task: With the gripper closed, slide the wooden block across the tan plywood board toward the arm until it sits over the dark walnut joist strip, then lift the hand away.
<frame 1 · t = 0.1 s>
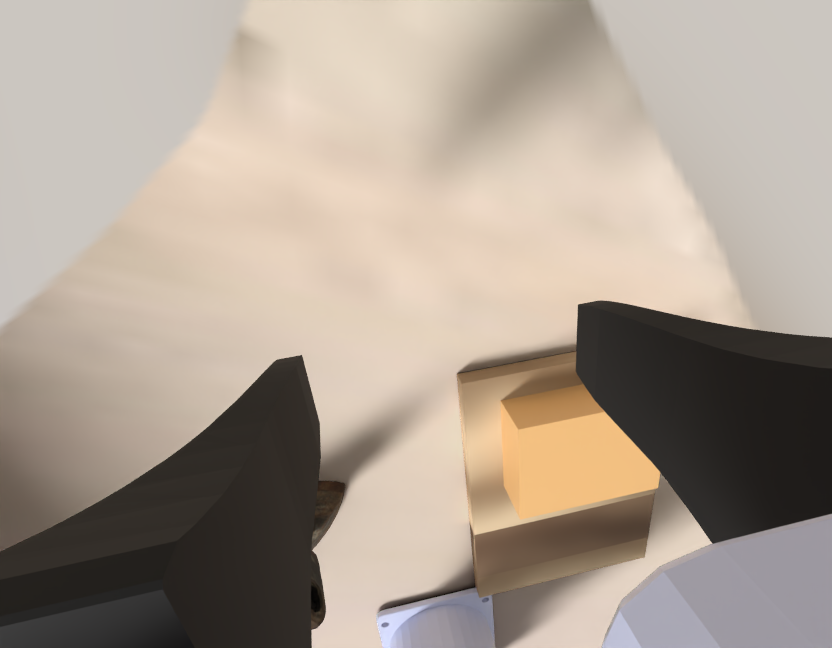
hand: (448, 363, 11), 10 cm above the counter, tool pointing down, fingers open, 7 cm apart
wooden block: (569, 431, 25), point 1 cm above the counter, touching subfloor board
clothes iron: (265, 525, 26), on the counter
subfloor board: (560, 472, 28), on the counter
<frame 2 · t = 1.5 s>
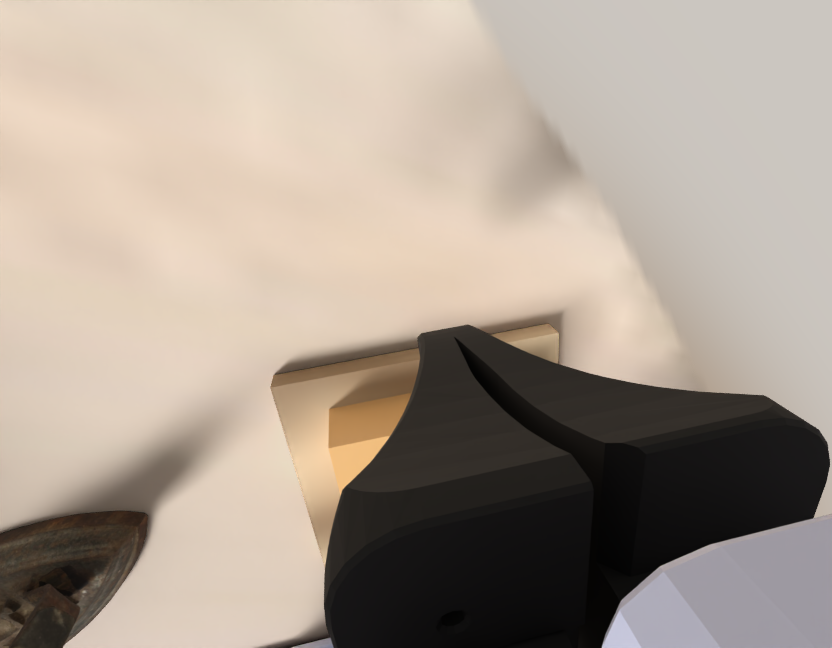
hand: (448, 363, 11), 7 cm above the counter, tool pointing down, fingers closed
wooden block: (431, 446, 20), point 1 cm above the counter, touching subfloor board
clothes iron: (54, 566, 21), on the counter
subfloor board: (435, 495, 22), on the counter
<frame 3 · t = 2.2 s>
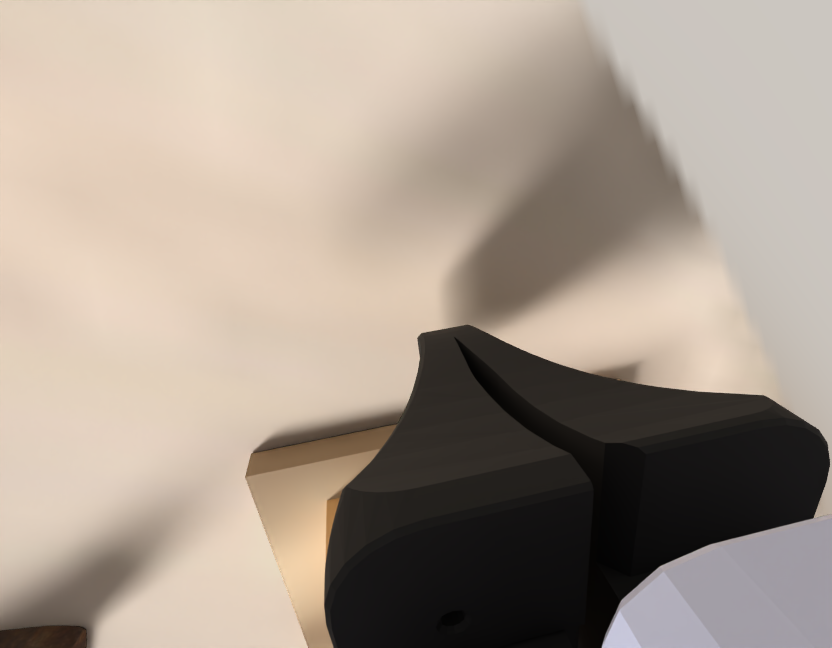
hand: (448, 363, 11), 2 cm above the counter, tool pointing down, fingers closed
wooden block: (462, 539, 15), point 1 cm above the counter, touching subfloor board
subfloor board: (463, 588, 18), on the counter
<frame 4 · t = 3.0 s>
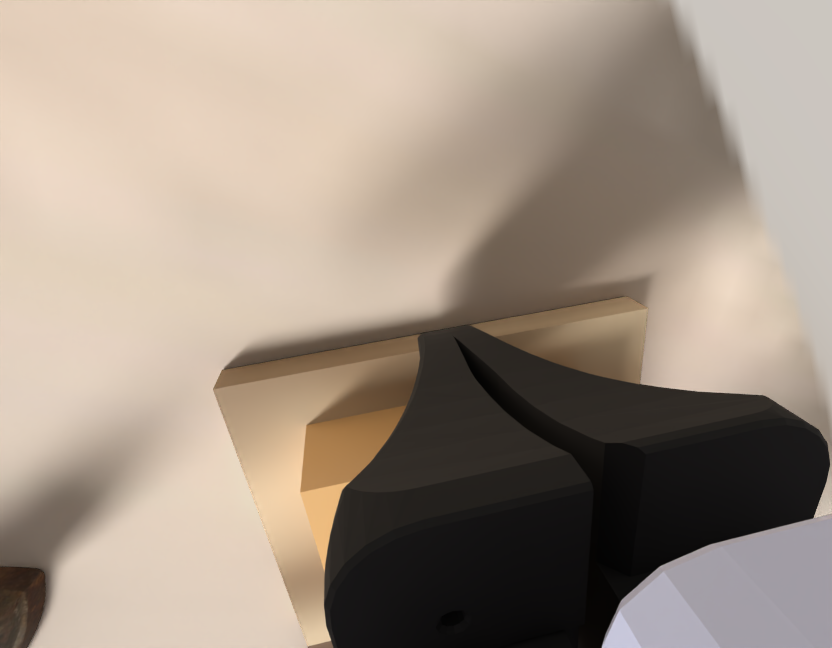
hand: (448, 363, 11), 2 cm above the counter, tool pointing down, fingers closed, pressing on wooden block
wooden block: (456, 476, 14), point 1 cm above the counter, touching gripper, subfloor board
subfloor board: (457, 536, 16), on the counter
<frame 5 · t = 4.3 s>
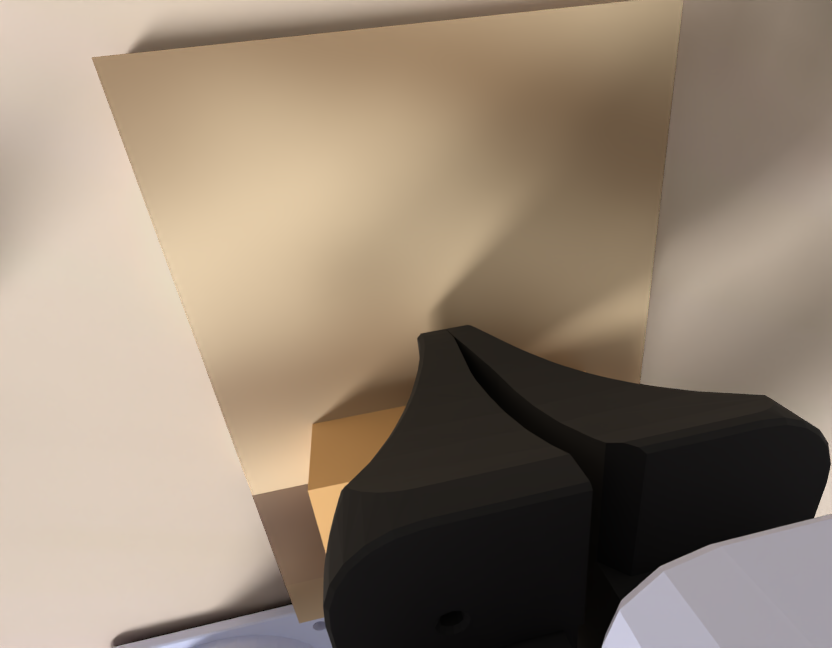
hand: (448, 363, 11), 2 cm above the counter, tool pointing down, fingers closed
wooden block: (460, 476, 14), point 1 cm above the counter, touching gripper, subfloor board
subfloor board: (438, 366, 13), on the counter
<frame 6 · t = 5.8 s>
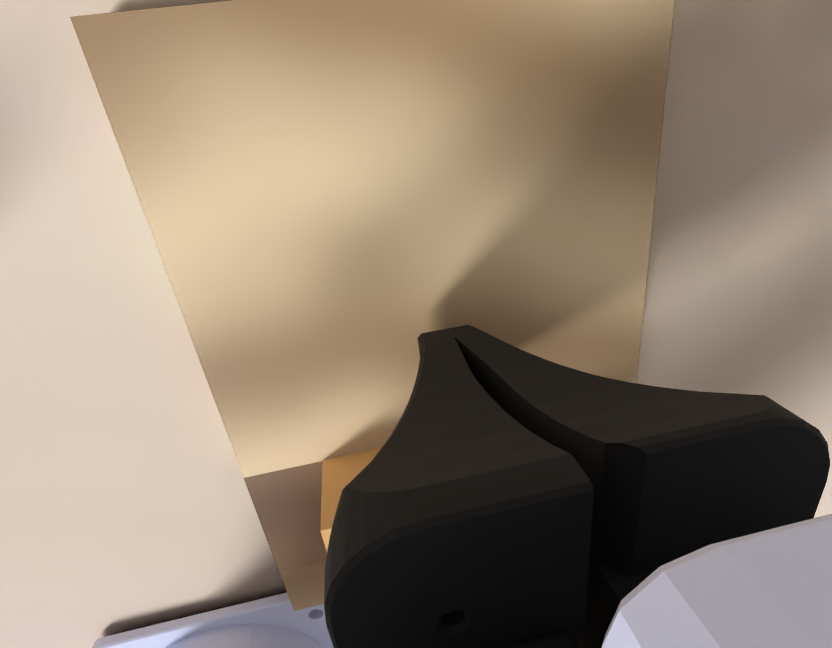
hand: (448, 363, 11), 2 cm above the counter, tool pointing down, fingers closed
wooden block: (464, 504, 14), point 1 cm above the counter, touching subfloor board
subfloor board: (433, 345, 13), on the counter
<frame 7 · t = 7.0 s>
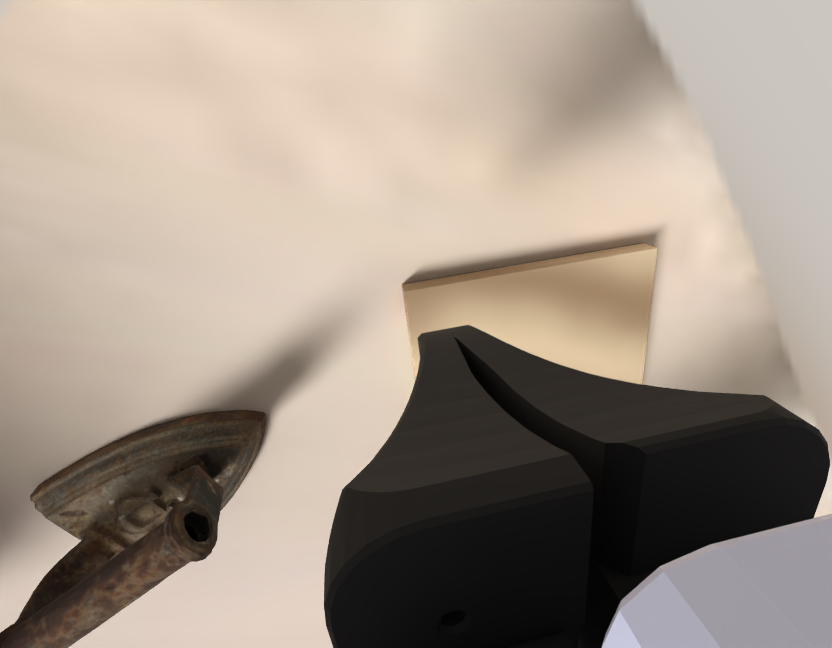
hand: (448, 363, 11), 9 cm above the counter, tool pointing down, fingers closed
clothes iron: (181, 467, 23), on the counter
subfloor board: (528, 410, 24), on the counter
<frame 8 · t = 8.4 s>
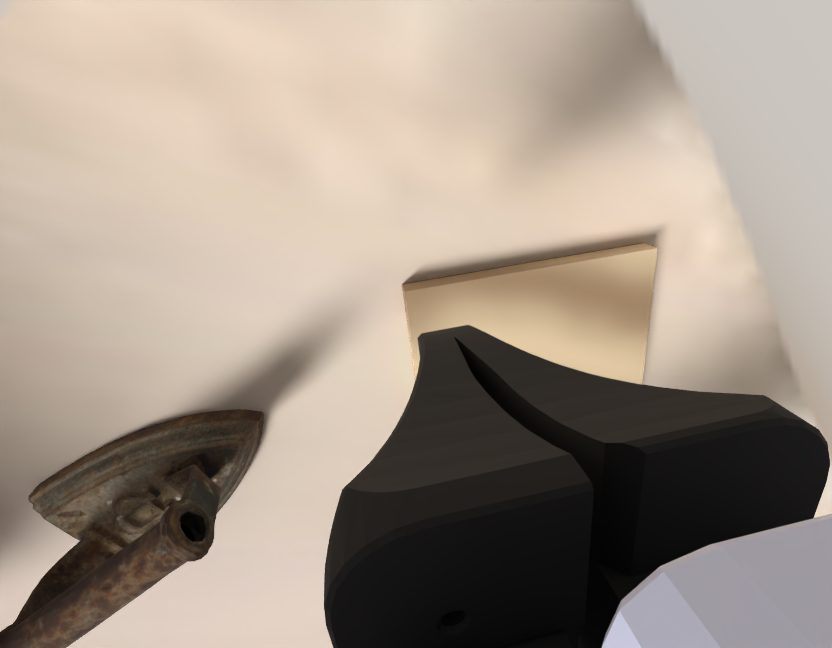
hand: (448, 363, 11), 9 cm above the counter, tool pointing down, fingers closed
clothes iron: (179, 467, 22), on the counter
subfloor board: (528, 410, 24), on the counter
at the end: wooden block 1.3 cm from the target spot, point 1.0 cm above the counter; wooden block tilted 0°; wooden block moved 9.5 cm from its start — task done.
